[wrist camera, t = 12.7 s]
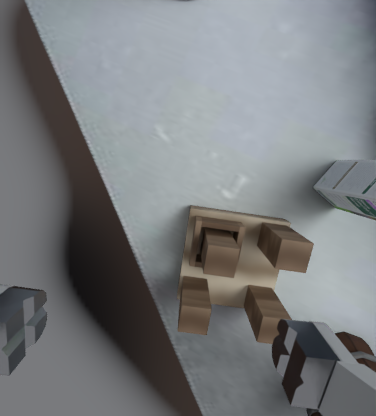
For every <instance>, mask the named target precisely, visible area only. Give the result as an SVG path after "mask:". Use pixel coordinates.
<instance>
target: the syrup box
mask: <svg viewBox="0 0 376 416" xmlns="http://www.w3.org/2000/svg"><path fill="white" fill-rule="evenodd" d="M313 188H314V189H315V190H316V191H317V192H318V193H319V194H320V195H321V196H322V197H324V198H325V199H326V200H327V201H328V202H329V203H331V204H332V205H333V206H334V207H335V208H337V209H340V210H344V211H347V212H350V213H354V214H357V215H360V216H363V217H367V218H370V219H373V220H376V160H338V161H336V162H335V163H334V164H333V165H332V166H331V167H330V168H329V169H328V171H327V172H326V173H325V174H324V175H323V176H322V177H321V179H320V180H319V181H318V182H317V183H316V184H315V185H314V186H313Z"/></svg>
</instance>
